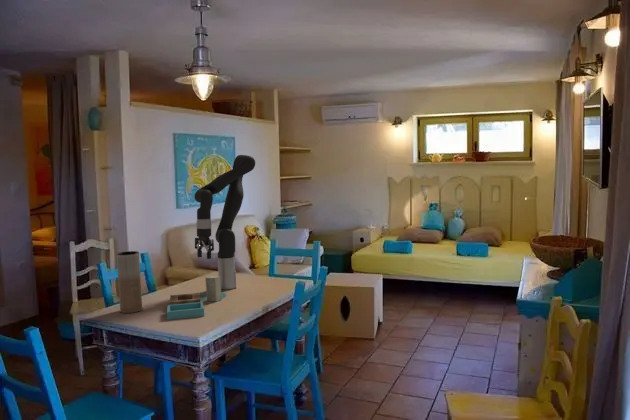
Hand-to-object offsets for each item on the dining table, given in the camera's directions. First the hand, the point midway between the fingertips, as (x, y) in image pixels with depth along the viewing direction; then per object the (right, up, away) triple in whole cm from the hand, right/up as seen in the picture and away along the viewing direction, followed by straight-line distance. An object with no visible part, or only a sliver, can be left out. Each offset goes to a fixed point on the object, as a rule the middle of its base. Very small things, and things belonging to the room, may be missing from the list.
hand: (204, 258), depth 270 cm
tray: (-1, -22, -36) cm, 43 cm away
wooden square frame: (-5, -21, -21) cm, 30 cm away
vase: (-29, -23, -27) cm, 46 cm away
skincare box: (+8, -20, -12) cm, 25 cm away
